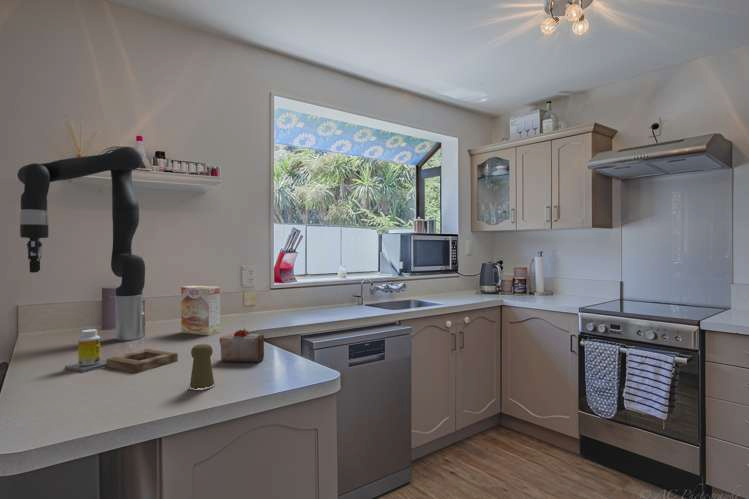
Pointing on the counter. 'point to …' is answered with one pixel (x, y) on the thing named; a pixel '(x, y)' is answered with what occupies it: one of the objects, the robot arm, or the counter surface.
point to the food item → (242, 347)
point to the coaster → (86, 368)
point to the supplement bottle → (89, 348)
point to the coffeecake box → (200, 310)
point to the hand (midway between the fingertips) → (35, 271)
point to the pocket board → (141, 360)
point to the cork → (201, 367)
